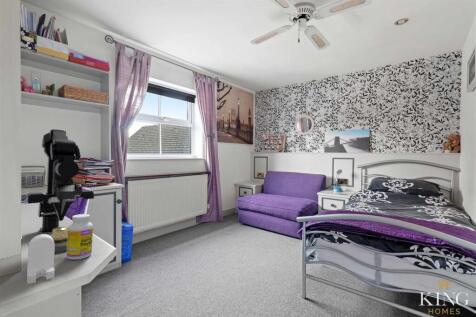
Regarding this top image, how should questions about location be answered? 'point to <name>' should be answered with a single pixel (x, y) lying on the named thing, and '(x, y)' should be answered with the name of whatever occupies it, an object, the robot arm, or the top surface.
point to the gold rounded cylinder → (60, 234)
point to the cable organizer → (40, 258)
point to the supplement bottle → (79, 237)
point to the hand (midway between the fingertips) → (61, 220)
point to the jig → (60, 247)
